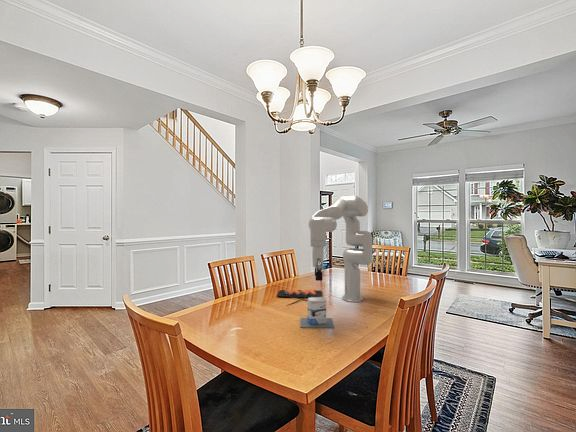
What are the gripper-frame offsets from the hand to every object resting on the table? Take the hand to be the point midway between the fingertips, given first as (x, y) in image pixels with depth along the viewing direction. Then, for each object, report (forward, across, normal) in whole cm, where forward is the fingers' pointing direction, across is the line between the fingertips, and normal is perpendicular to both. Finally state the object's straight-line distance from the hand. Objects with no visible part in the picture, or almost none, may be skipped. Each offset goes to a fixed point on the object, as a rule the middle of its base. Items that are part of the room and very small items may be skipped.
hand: (318, 277), depth 150 cm
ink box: (+22, +1, -1) cm, 22 cm away
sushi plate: (+23, -40, -10) cm, 47 cm away
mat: (+22, +1, -1) cm, 22 cm away
